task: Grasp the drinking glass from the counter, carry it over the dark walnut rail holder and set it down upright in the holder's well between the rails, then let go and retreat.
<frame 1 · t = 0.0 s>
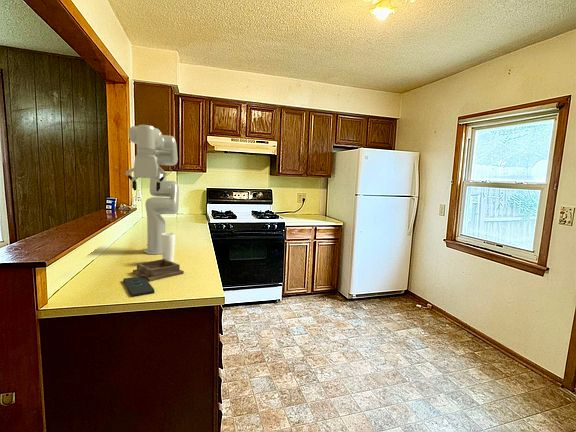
hand: (146, 190, 142), 37 cm above the counter, tool pointing down, fingers open, 9 cm apart
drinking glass: (168, 262, 158), on the counter
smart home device: (138, 288, 123), on the counter
rail holder: (158, 273, 141), on the counter
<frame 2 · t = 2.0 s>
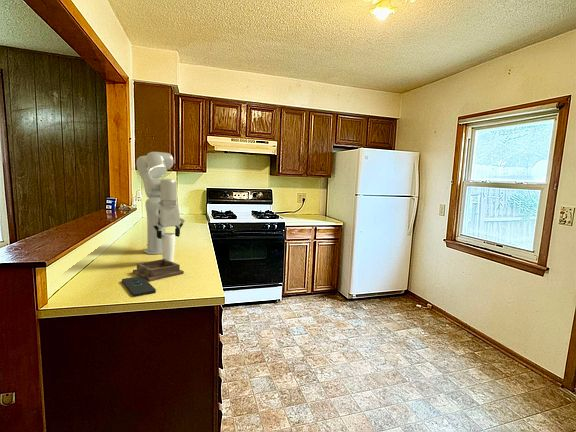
hand: (168, 237, 156), 13 cm above the counter, tool pointing down, fingers open, 9 cm apart
nothing on the counter moved.
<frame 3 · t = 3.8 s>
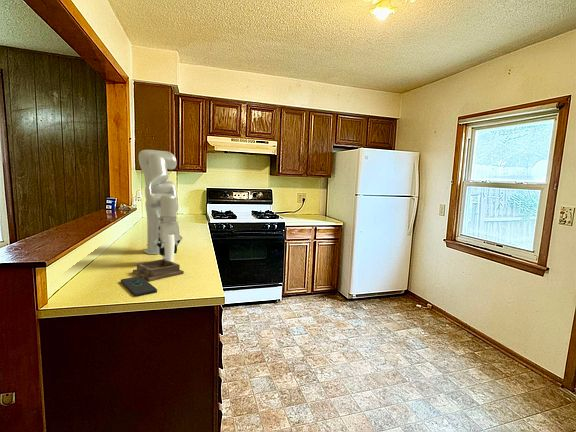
hand: (168, 253, 158), 5 cm above the counter, tool pointing down, fingers closed on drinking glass, 6 cm apart
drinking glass: (168, 262, 158), on the counter, touching gripper
everything else where it was.
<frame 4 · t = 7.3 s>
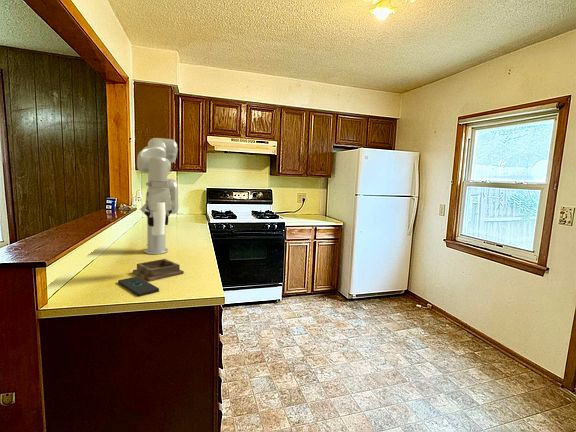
hand: (158, 225, 138), 22 cm above the counter, tool pointing down, fingers closed on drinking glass, 6 cm apart
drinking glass: (158, 235, 139), point 18 cm above the counter, touching gripper
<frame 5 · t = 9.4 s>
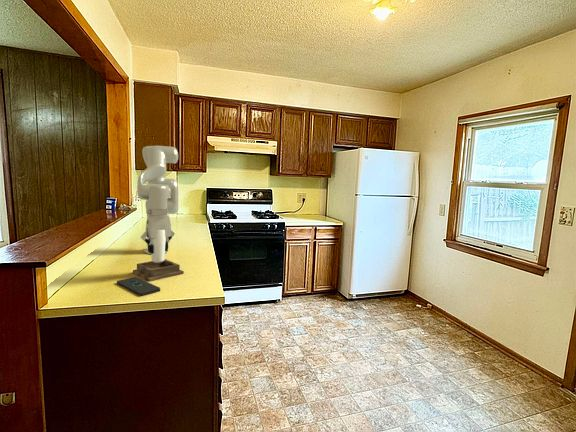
hand: (158, 251, 140), 10 cm above the counter, tool pointing down, fingers closed on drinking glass, 6 cm apart
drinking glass: (158, 261, 140), point 5 cm above the counter, touching gripper
when the fingers open (7 cm above the counter, at t = 11.0 s): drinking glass drops 1 cm, resting on rail holder.
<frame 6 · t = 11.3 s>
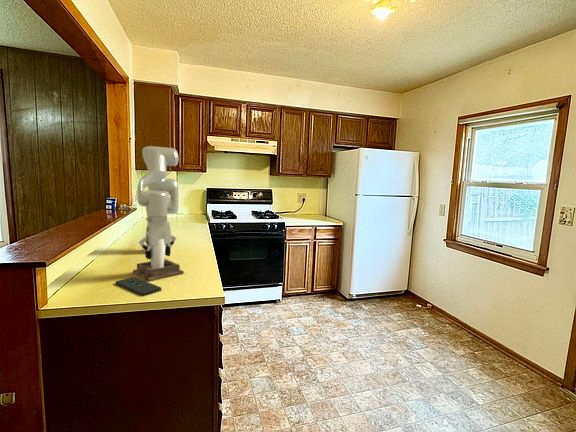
hand: (158, 257, 140), 8 cm above the counter, tool pointing down, fingers open, 8 cm apart
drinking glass: (157, 271, 141), point 1 cm above the counter, touching rail holder
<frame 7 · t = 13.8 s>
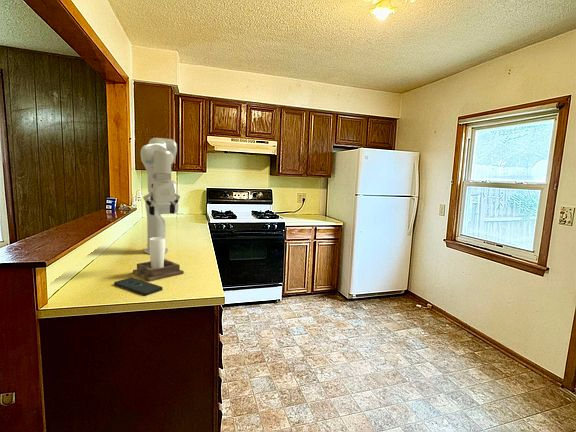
hand: (162, 214, 143), 27 cm above the counter, tool pointing down, fingers open, 9 cm apart
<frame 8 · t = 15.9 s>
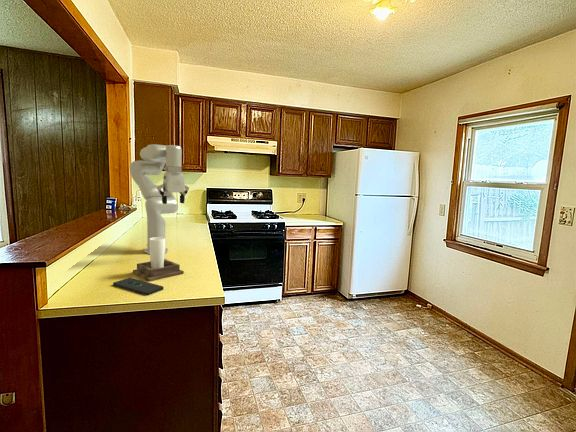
hand: (173, 203, 159), 30 cm above the counter, tool pointing down, fingers open, 9 cm apart
at the end: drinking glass 0.4 cm off-centre on the rail holder, point 1.0 cm above the rail holder's base; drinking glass tilted 0°; the gripper is holding nothing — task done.
